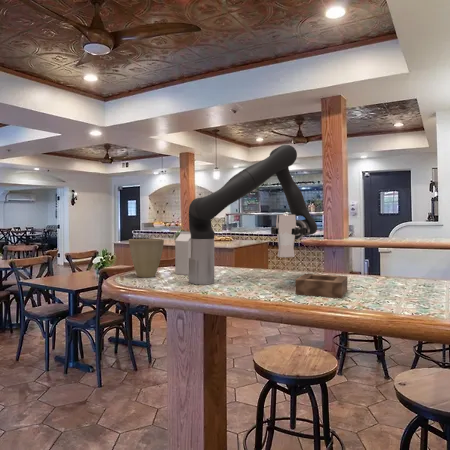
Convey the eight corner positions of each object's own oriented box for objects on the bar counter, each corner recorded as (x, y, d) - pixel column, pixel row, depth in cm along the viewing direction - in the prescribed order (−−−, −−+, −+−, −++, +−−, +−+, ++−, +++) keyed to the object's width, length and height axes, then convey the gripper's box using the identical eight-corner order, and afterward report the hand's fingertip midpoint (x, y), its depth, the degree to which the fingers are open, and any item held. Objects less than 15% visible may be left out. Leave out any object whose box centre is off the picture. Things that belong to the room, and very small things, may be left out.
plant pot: (160, 279, 161) (160, 240, 161) (124, 279, 161) (124, 240, 161) (166, 273, 176) (166, 238, 176) (133, 273, 176) (133, 238, 176)
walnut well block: (295, 294, 131) (295, 279, 131) (305, 287, 145) (305, 273, 145) (341, 298, 125) (341, 282, 125) (347, 290, 139) (347, 276, 139)
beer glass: (297, 255, 143) (297, 214, 142) (294, 258, 136) (294, 214, 136) (278, 255, 145) (278, 214, 144) (274, 257, 138) (274, 214, 138)
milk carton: (187, 275, 172) (187, 232, 171) (175, 274, 175) (175, 231, 175) (197, 273, 178) (197, 231, 177) (184, 272, 181) (185, 231, 181)
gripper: (277, 219, 156) (265, 220, 141) (314, 220, 150) (305, 221, 135) (277, 238, 156) (265, 241, 141) (314, 239, 151) (305, 242, 135)
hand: (284, 231), depth 138 cm, fingers closed on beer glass, 6 cm apart
